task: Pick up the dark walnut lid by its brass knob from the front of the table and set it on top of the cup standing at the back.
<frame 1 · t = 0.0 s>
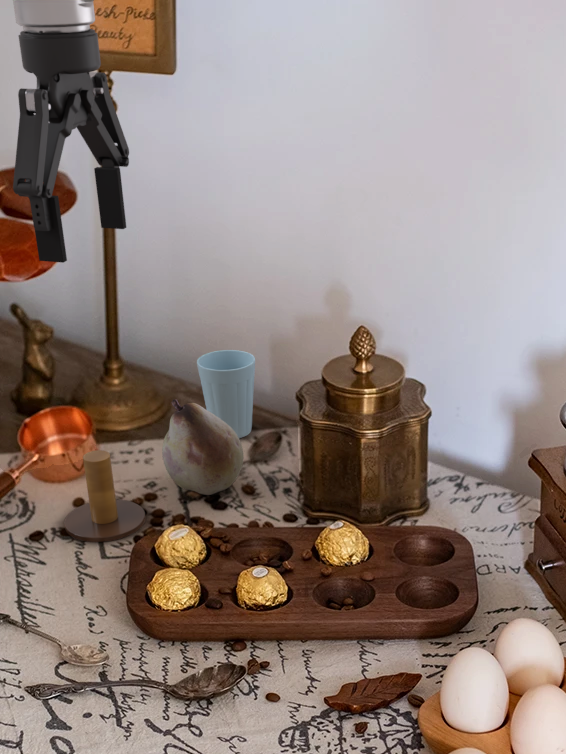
hand: (85, 243, 118), 31 cm above the table, tool pointing down, fingers open, 13 cm apart
cup: (231, 432, 151), on the table
fruit: (206, 487, 137), on the table
lid: (105, 522, 129), on the table
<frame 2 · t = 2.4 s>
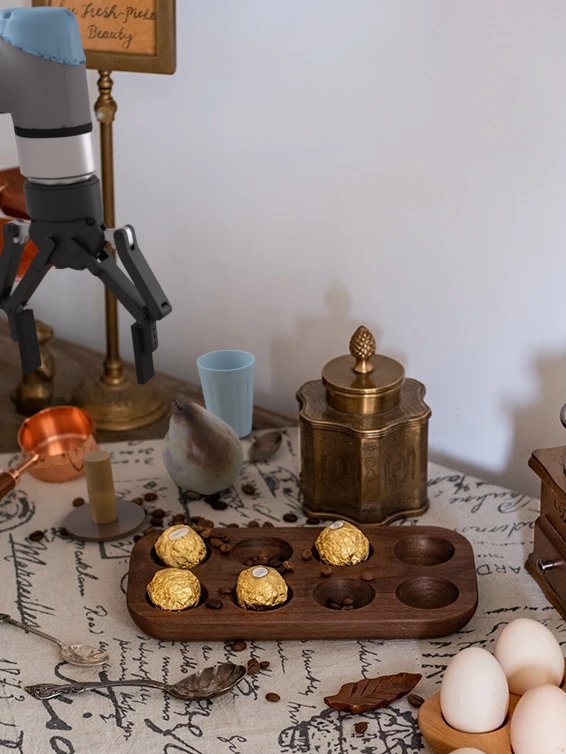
hand: (88, 374, 121), 18 cm above the table, tool pointing down, fingers open, 13 cm apart
nothing on the table moved.
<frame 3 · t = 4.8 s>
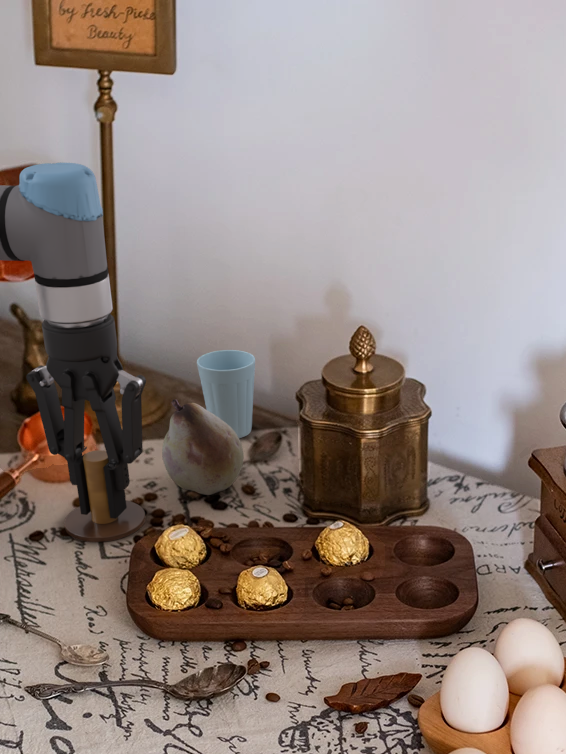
hand: (103, 510, 128), 2 cm above the table, tool pointing down, fingers closed on lid, 3 cm apart
lid: (105, 522, 129), on the table, touching gripper
everything else where it was.
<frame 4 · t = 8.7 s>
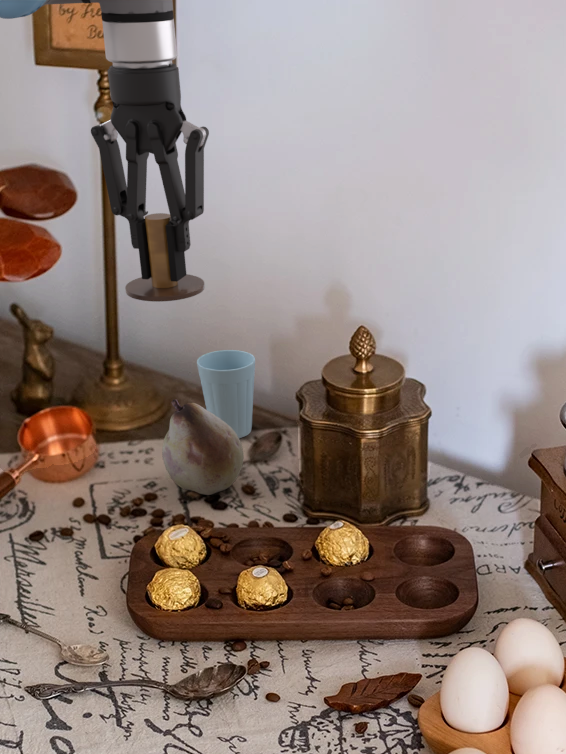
hand: (164, 276, 130), 25 cm above the table, tool pointing down, fingers closed on lid, 3 cm apart
lid: (165, 289, 130), point 23 cm above the table, touching gripper
everything else where it was.
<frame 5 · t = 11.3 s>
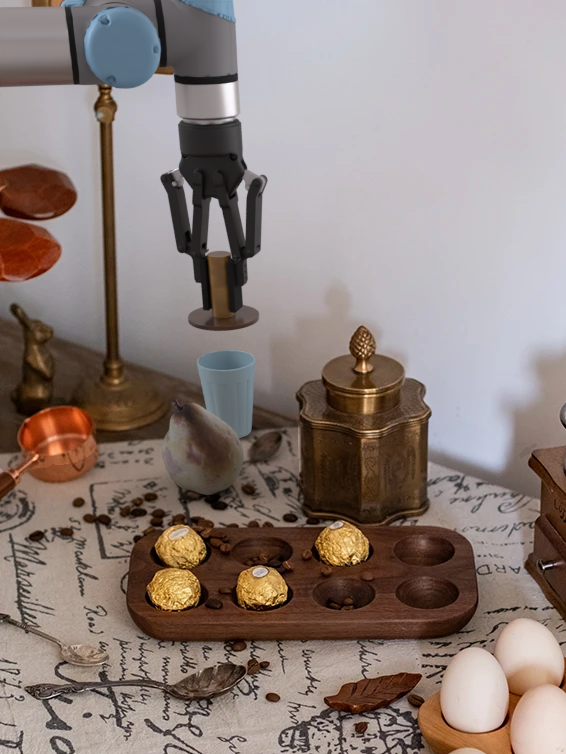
hand: (223, 307, 143), 18 cm above the table, tool pointing down, fingers closed on lid, 3 cm apart
lid: (224, 319, 144), point 16 cm above the table, touching gripper
everything else where it was.
when the fingers open (12 cm above the table, at t = 12.8 s): lid stays where it is, resting on cup.
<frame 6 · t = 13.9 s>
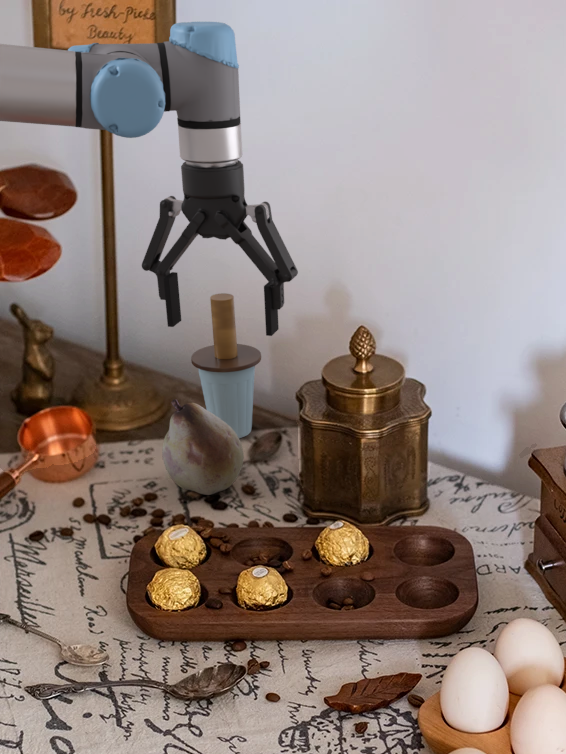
hand: (223, 328, 144), 15 cm above the table, tool pointing down, fingers open, 13 cm apart
cup: (231, 432, 151), on the table, touching lid
lid: (226, 359, 146), point 10 cm above the table, touching cup
everything else where it was.
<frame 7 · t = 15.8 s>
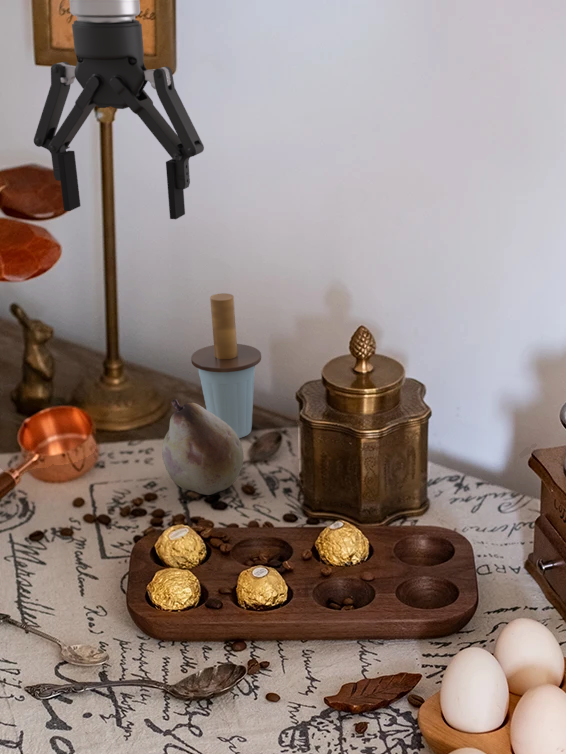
hand: (124, 212, 132), 31 cm above the table, tool pointing down, fingers open, 13 cm apart
nothing on the table moved.
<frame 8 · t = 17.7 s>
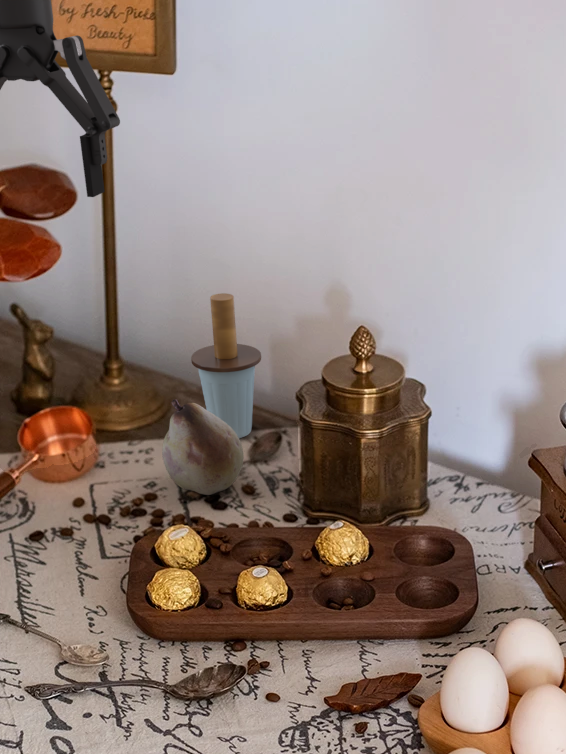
hand: (41, 191, 126), 35 cm above the table, tool pointing down, fingers open, 13 cm apart
nothing on the table moved.
at the end: lid 0.0 cm off-centre on the cup, point 10.6 cm above the cup's base; lid tilted 0°; the gripper is holding nothing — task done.
